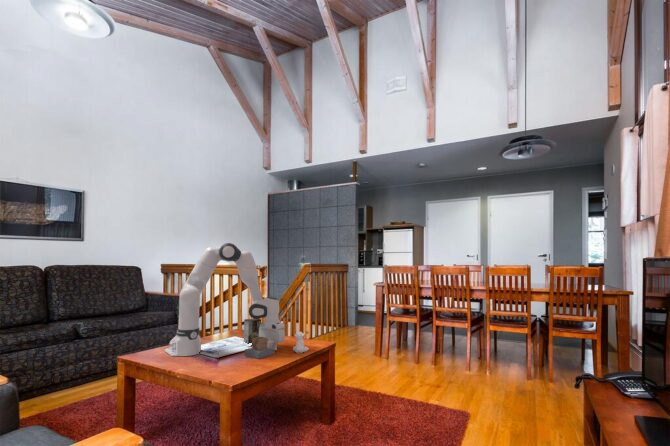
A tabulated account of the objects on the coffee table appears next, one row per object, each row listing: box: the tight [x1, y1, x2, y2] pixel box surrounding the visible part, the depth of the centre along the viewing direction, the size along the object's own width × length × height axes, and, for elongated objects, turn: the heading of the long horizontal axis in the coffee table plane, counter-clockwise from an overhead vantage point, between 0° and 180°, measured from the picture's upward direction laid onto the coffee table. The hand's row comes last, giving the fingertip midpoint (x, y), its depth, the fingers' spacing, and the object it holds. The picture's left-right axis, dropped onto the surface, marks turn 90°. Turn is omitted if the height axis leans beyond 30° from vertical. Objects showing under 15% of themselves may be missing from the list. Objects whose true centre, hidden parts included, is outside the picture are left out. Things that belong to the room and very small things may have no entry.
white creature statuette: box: [292, 331, 310, 354], centre depth 223 cm, size 10×9×12 cm
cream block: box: [267, 340, 278, 351], centre depth 226 cm, size 5×5×5 cm
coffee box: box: [243, 317, 262, 344], centre depth 237 cm, size 9×6×16 cm
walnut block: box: [251, 337, 267, 351], centre depth 216 cm, size 6×6×6 cm
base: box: [244, 347, 276, 360], centre depth 215 cm, size 12×12×3 cm
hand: (270, 347), depth 226 cm, fingers closed on cream block, 5 cm apart
